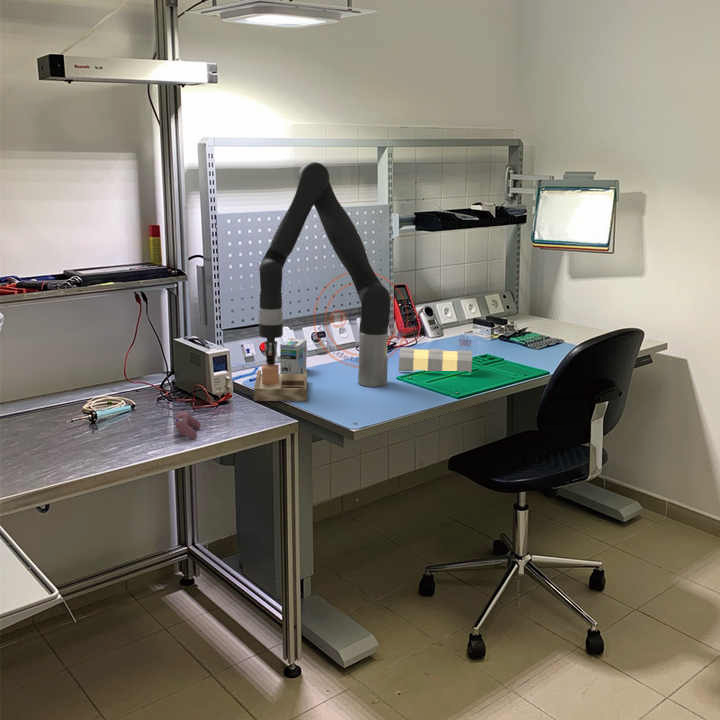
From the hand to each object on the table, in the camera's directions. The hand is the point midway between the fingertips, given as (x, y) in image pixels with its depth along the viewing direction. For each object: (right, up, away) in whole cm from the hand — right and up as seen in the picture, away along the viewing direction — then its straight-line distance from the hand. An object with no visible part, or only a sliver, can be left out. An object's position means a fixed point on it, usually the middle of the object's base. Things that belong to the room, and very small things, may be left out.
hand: (271, 374), depth 261 cm
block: (0, -2, -5) cm, 5 cm away
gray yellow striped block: (+55, 0, +23) cm, 60 cm away
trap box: (+4, -5, -5) cm, 8 cm away
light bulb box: (+6, 0, +17) cm, 18 cm away
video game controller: (-17, -15, -47) cm, 52 cm away
